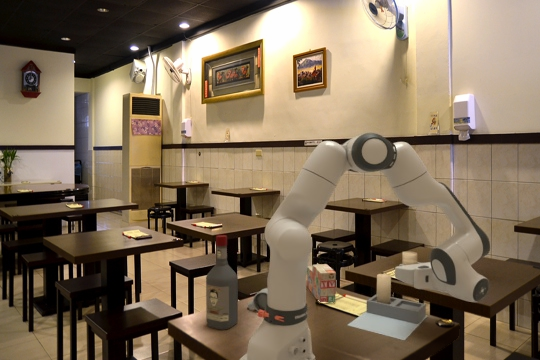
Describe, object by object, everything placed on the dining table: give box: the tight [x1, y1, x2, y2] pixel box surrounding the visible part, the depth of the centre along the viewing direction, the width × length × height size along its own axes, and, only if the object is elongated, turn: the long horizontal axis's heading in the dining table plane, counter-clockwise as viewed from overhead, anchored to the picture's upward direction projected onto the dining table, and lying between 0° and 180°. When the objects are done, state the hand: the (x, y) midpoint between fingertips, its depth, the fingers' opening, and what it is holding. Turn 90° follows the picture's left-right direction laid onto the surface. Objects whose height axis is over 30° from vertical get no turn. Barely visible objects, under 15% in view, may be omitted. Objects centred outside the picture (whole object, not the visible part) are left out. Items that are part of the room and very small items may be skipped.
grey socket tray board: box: [347, 273, 428, 341], centre depth 141 cm, size 24×19×14 cm
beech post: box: [401, 250, 418, 285], centre depth 142 cm, size 5×5×10 cm
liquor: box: [205, 234, 239, 331], centre depth 140 cm, size 9×9×30 cm
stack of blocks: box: [306, 263, 337, 303], centre depth 171 cm, size 21×6×12 cm, turn 9°
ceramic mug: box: [247, 287, 267, 313], centre depth 154 cm, size 11×8×8 cm
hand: (407, 265), depth 143 cm, fingers closed on beech post, 5 cm apart
